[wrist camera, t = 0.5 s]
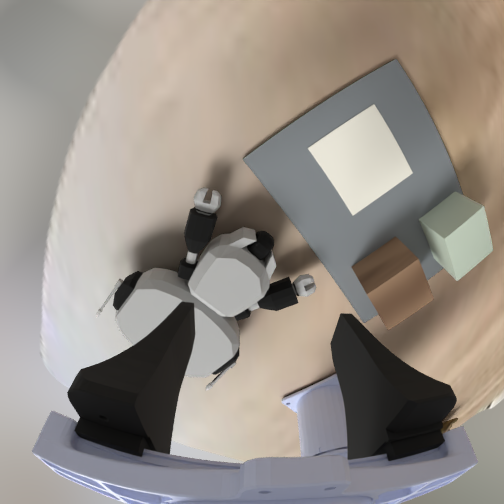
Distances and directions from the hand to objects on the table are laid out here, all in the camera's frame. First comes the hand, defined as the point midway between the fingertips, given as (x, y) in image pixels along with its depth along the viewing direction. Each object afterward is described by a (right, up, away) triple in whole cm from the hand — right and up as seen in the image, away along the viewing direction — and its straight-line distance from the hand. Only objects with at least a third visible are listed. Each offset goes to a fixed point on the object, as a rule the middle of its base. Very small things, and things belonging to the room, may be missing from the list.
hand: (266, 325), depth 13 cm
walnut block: (+10, +2, +9) cm, 14 cm away
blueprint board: (+10, +7, +6) cm, 14 cm away
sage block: (+16, +6, +7) cm, 18 cm away
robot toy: (-5, +1, +10) cm, 11 cm away
